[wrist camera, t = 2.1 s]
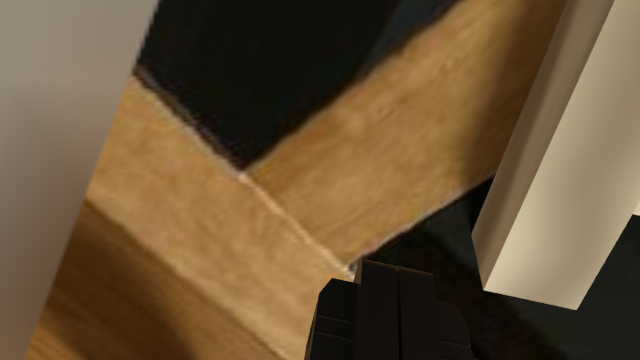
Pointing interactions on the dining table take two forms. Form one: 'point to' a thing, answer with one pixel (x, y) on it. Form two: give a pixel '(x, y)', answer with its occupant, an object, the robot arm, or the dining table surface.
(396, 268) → the robot arm
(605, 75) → the T block
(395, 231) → the dining table surface
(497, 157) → the dining table surface
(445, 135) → the dining table surface
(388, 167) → the dining table surface
